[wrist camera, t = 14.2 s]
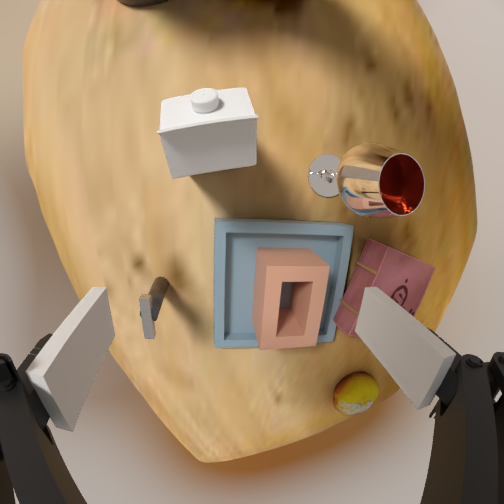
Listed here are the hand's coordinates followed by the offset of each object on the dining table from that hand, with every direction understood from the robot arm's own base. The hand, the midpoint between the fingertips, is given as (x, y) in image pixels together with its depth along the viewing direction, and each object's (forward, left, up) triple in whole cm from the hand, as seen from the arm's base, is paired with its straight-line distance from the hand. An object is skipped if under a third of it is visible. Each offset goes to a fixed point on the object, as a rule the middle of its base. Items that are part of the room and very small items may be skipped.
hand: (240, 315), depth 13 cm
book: (+11, +26, -26) cm, 38 cm away
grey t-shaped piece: (+10, -9, -27) cm, 30 cm away
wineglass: (-7, +15, -27) cm, 32 cm away
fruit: (+36, +28, -27) cm, 53 cm away
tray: (+10, +9, -27) cm, 30 cm away
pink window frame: (+10, +9, -26) cm, 30 cm away
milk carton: (-10, -2, -27) cm, 29 cm away
